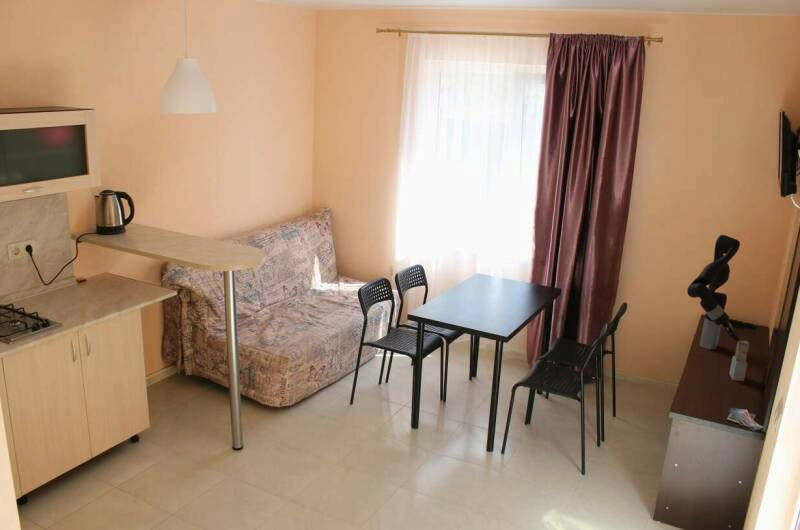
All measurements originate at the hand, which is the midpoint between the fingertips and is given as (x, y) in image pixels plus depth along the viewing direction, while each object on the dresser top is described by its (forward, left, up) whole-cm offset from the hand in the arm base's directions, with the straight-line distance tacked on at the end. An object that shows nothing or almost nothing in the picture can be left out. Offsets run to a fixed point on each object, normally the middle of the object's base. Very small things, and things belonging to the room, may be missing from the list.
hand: (736, 337), depth 371 cm
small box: (0, +4, -23) cm, 23 cm away
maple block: (+1, +4, -12) cm, 12 cm away
